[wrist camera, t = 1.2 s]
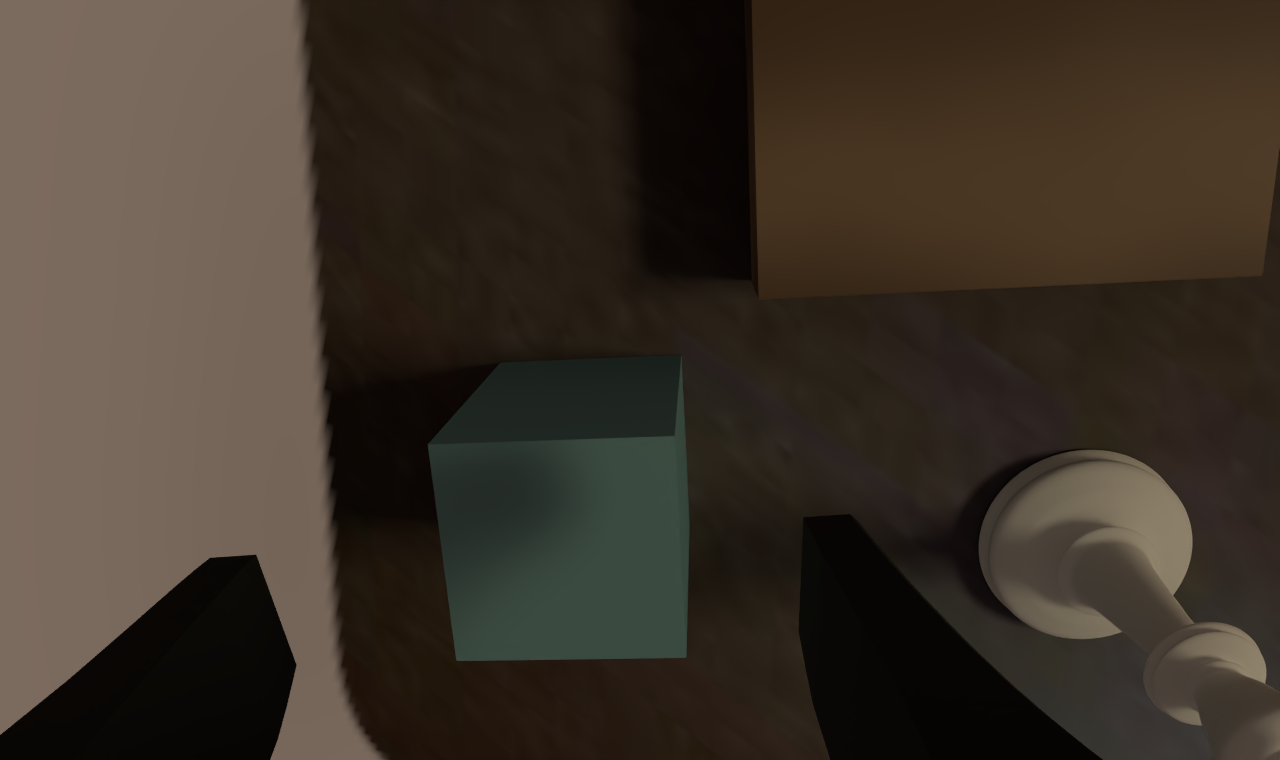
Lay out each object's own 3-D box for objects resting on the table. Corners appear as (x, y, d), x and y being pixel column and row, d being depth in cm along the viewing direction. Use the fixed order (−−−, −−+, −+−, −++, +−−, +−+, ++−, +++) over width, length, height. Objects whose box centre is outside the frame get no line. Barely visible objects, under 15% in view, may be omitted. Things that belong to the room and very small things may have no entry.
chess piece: (948, 596, 22) (1138, 943, 13) (1024, 424, 21) (1302, 667, 11) (1128, 649, 22) (1453, 1034, 13) (1216, 481, 21) (1654, 770, 11)
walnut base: (1193, 258, 20) (1262, 275, 17) (751, 280, 20) (758, 299, 18) (1249, -249, 17) (1340, -313, 15) (739, -201, 18) (746, -255, 15)
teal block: (689, 523, 22) (686, 657, 16) (518, 527, 23) (456, 661, 17) (681, 354, 21) (674, 436, 15) (500, 362, 21) (427, 444, 16)
